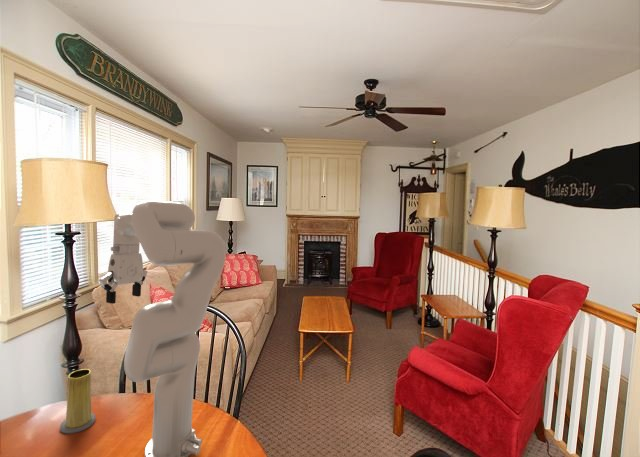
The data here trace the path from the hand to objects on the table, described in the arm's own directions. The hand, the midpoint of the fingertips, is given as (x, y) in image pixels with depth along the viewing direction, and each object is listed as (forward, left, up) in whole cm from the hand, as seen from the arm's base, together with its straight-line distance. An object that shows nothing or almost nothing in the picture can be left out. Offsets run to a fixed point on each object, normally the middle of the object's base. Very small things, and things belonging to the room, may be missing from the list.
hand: (124, 299), depth 104 cm
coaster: (-3, +16, -32) cm, 36 cm away
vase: (-3, +16, -32) cm, 36 cm away
